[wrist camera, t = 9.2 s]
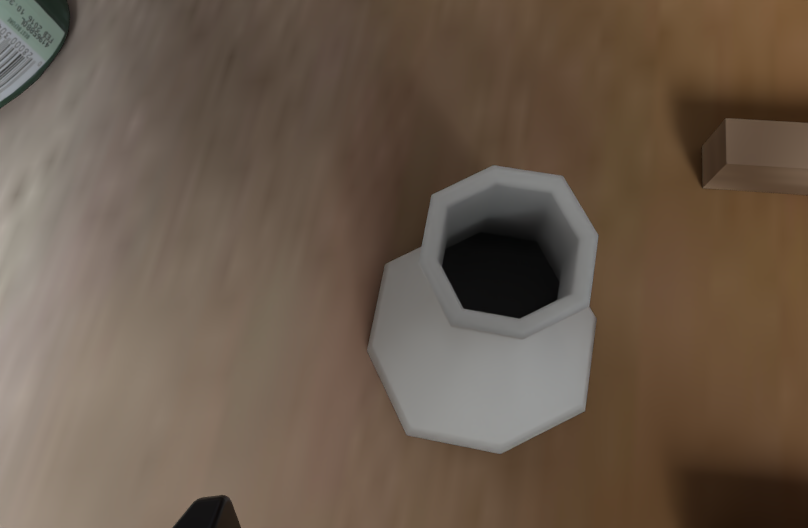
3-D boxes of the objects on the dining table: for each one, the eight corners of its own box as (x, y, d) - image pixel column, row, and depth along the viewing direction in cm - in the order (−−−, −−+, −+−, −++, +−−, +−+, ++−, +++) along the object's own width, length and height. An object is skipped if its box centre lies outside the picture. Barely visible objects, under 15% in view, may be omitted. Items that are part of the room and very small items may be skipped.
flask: (381, 469, 21) (325, 489, 11) (355, 244, 23) (287, 94, 13) (619, 437, 21) (770, 429, 11) (572, 213, 23) (666, 38, 13)
